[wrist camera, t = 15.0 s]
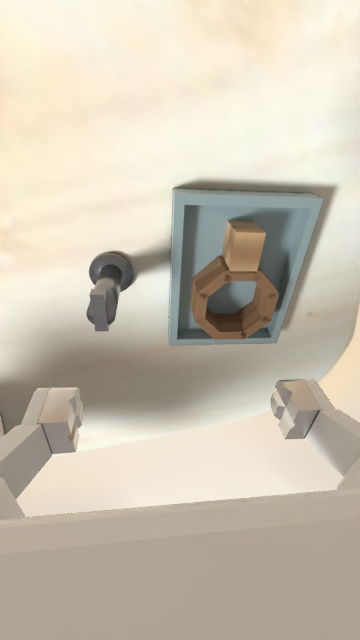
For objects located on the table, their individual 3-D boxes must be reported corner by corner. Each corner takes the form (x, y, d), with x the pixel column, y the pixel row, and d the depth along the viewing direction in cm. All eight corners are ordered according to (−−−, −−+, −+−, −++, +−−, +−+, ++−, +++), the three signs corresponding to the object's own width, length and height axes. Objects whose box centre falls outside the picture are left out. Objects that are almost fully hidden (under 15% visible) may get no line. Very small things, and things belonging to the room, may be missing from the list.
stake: (133, 290, 35) (129, 338, 27) (93, 290, 34) (76, 339, 27) (131, 252, 32) (126, 294, 24) (87, 252, 32) (67, 294, 24)
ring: (256, 320, 39) (265, 338, 35) (189, 321, 38) (192, 340, 34) (281, 221, 31) (297, 233, 28) (198, 219, 30) (203, 231, 27)
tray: (270, 332, 41) (276, 343, 39) (168, 333, 39) (169, 345, 37) (312, 193, 30) (323, 198, 28) (172, 188, 28) (174, 193, 26)
